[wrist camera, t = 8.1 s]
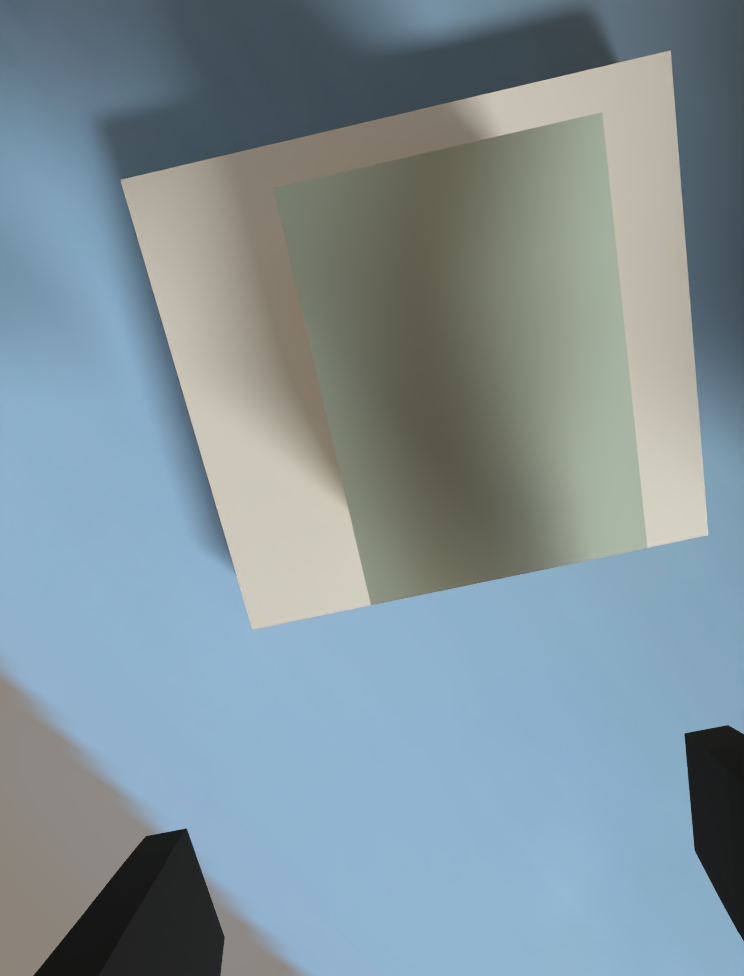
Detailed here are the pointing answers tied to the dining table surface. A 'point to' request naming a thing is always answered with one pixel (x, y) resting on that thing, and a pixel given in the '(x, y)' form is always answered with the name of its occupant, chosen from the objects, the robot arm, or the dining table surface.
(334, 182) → the sage green block
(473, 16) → the dining table surface
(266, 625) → the white stand
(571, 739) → the dining table surface
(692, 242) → the dining table surface
